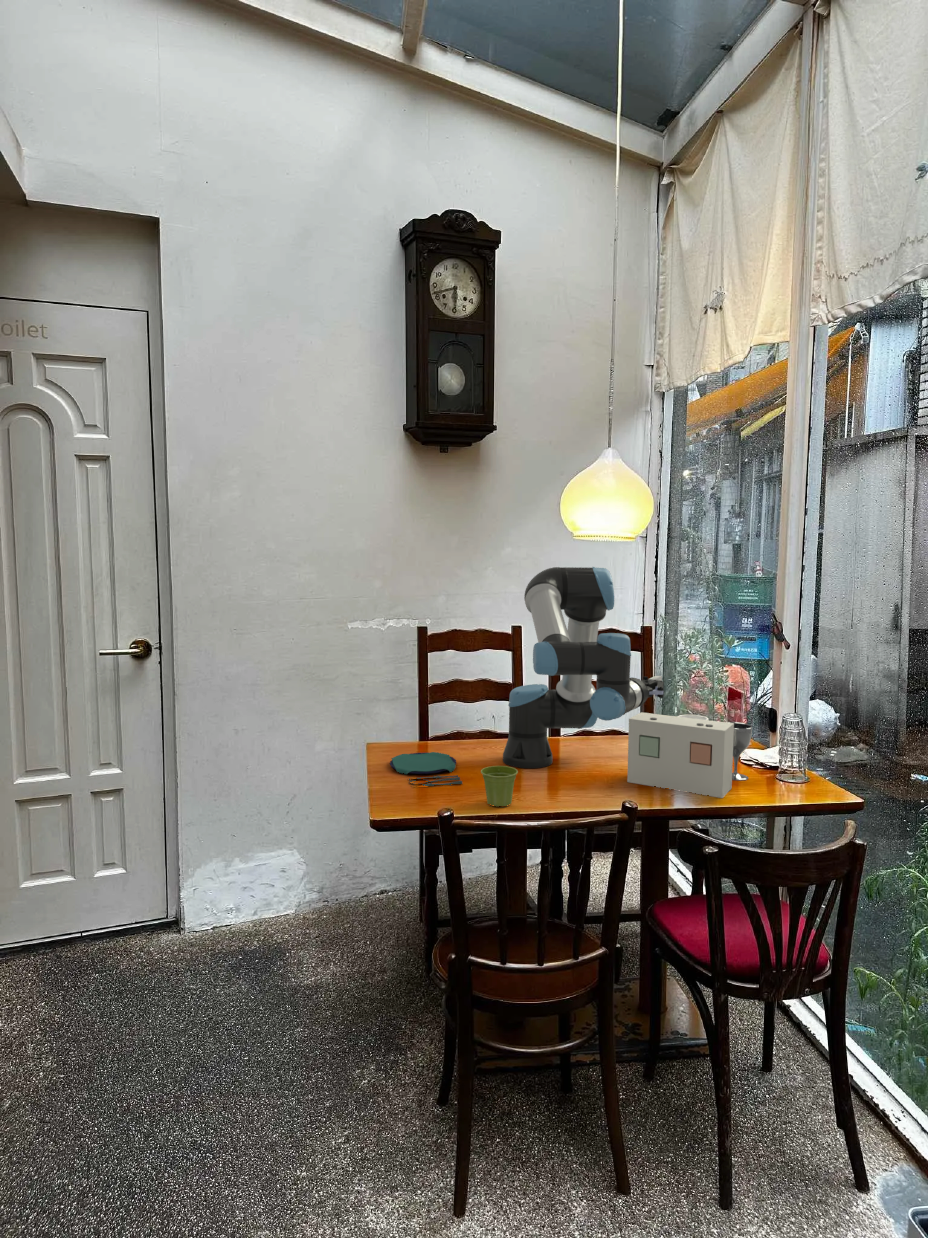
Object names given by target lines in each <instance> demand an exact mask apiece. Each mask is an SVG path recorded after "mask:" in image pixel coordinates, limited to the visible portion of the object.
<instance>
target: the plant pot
mask: <svg viewBox="0 0 928 1238" xmlns="http://www.w3.org/2000/svg"><path fill="white" fill-rule="evenodd" d="M518 773H519V771H518V769H516V767H513V766H509V765H492V766H491V765H490V766H487V767H486V766H485V767H483V768H481V770H480V774H482V778H483V781H484V788H485V794H486V801H487V802H486V803H487V805H488V804H491V805H494V806H496V807H499V806H507V805H509V804H511V805H512V802H513V801H512V800H513V793H514V786H515V780H516V778H517V777H516V776H517V775H518ZM509 806H510V805H509ZM507 807H508V806H507Z"/></svg>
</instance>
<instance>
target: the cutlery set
mask: <svg viewBox="0 0 928 1238" xmlns="http://www.w3.org/2000/svg"><path fill="white" fill-rule="evenodd" d="M389 765H390V767H391V768H392V769H394V770H396V772H397V773H398V772H399V773H398V774H403V773H404V774H403V775H408V774H415V775H424V774H425V775H428V774H437V773H443V772H445V771H449V773H450V772H451V773H452V771H453V772H454V771H455V769H456V765H457V760H456V758H454V757H453V756H450V754H448V753H443V752H436V751H431V752H414V753H413V752H411V753H402V754H399V755H396V756H393V757H391V760H390V761H389ZM416 778H417V779H421V778H436V779H433V780H429V779H425V780H426V781H428V782H431V783H428V782H425V783H427V784H422V783H423V782H419V784H422V785H423V786H424V785H425V786H432V787H435V786H434V785H450V786H452V785H451V784H462V785H463V781H462V780H461V777H460V776H458V774H456V775H436V776H435V775H433V776H425V777H416ZM437 778H439V779H437ZM408 779H409V782H412V781H416V780H410V778H408ZM438 781H439V782H444V783H439V782H438ZM446 781H447V782H446ZM448 781H451V782H448ZM437 782H438V783H437ZM411 785H414V783H412V784H411Z"/></svg>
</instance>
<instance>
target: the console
mask: <svg viewBox="0 0 928 1238" xmlns="http://www.w3.org/2000/svg"><path fill="white" fill-rule="evenodd" d="M642 735H645V736H653V737H660V754H659V756H658V757H654V756H647V755H640V736H642ZM733 737H734V723H728V722H726V721H725V722H724V721H717V720H716V721H715V720H701V719H693V718H684V717H677V716H674V715H665V714H660V713H659V714H658V713H649V712H642V711H641V712H638V713H637V714H635V715H633V716H632V717H630V718H628V742H627V743H628V744H627V745H628V746H627V747H628V749H627V779H626V781H627V783H629V784H630V783H631V784H637V785H643V786H649V787H654V786H656V788H660V787H661V789H665V788H669V789H668V790H671V789H675V790H674V791H677V790H680V791H679V792H683V791H687V792H686V793H689V792H692V793H691V794H695V793H696V794H697V795H701V794H702V796H707V795H709V796H708V797H712V798H718V799H723V798H724V797H725V796H726V795H727V794H728V793H729V792H730V791H731V790H732V789H733V788H732V785H733V780H732V773H733V765H734V764H733V763H734V758H733ZM693 742H697V743H704V744H712V763H711V764H710V765H707V764H701V763H694V762H691V743H693Z"/></svg>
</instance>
